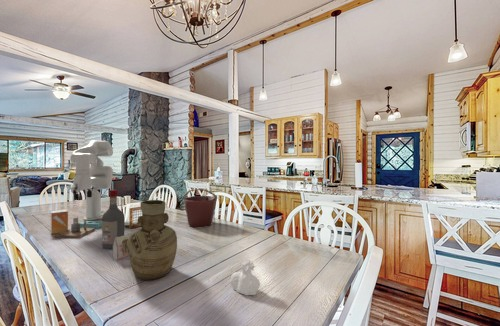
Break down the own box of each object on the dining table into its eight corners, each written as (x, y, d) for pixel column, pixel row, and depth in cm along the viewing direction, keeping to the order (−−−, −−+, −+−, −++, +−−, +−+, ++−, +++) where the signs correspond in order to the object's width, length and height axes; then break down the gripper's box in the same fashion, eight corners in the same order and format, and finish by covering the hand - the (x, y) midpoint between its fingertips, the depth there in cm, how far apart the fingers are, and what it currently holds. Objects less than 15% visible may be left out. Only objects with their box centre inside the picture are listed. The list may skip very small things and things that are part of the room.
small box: (51, 234, 142) (51, 213, 142) (50, 231, 147) (50, 211, 146) (68, 231, 148) (68, 211, 147) (67, 229, 152) (66, 209, 152)
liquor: (114, 250, 120) (114, 191, 119) (99, 248, 122) (98, 191, 121) (127, 243, 129) (126, 189, 128) (112, 242, 131) (112, 188, 130)
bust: (260, 301, 83) (268, 268, 88) (252, 296, 77) (262, 262, 83) (232, 291, 89) (241, 260, 94) (222, 286, 83) (233, 254, 89)
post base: (73, 230, 151) (73, 214, 150) (94, 230, 150) (94, 214, 150) (54, 237, 137) (54, 220, 136) (78, 237, 136) (78, 220, 136)
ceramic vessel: (133, 263, 106) (133, 197, 105) (180, 261, 108) (181, 196, 107) (112, 286, 87) (112, 206, 86) (171, 284, 89) (171, 205, 88)
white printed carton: (112, 258, 110) (112, 237, 110) (127, 253, 116) (127, 233, 116) (117, 260, 108) (117, 239, 108) (131, 255, 114) (131, 235, 114)
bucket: (176, 226, 161) (176, 190, 160) (193, 218, 182) (193, 186, 181) (208, 230, 154) (208, 192, 153) (222, 221, 175) (222, 188, 174)
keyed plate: (77, 228, 155) (77, 223, 154) (84, 225, 161) (84, 221, 160) (98, 228, 154) (98, 223, 154) (103, 225, 160) (103, 221, 160)
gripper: (89, 171, 162) (89, 195, 163) (65, 173, 145) (65, 200, 146) (98, 171, 161) (98, 196, 161) (75, 173, 144) (76, 201, 144)
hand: (83, 198), depth 153 cm, fingers open, 9 cm apart
